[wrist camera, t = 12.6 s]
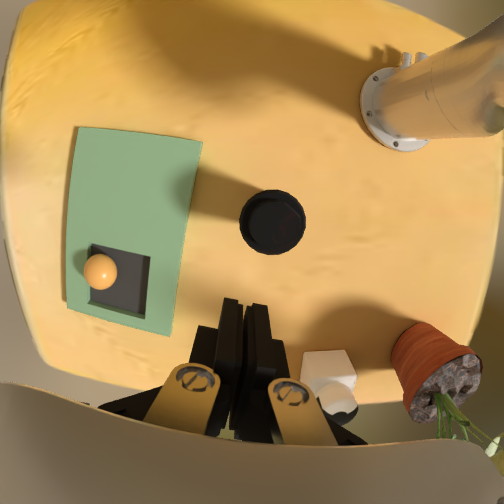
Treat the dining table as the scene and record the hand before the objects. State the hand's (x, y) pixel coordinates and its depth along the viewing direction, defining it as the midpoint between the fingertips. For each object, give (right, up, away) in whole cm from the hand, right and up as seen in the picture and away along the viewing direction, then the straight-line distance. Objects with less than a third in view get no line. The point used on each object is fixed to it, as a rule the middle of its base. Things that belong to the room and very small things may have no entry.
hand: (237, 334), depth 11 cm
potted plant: (+30, -15, +36) cm, 49 cm away
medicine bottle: (+12, -16, +36) cm, 41 cm away
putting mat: (-18, +6, +28) cm, 34 cm away
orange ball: (-21, 0, +27) cm, 34 cm away
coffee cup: (+3, +9, +28) cm, 29 cm away
